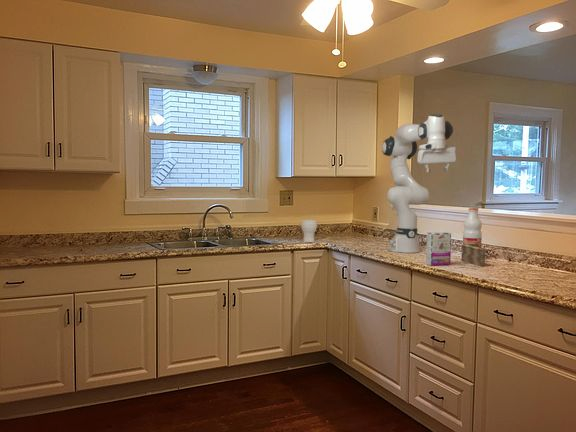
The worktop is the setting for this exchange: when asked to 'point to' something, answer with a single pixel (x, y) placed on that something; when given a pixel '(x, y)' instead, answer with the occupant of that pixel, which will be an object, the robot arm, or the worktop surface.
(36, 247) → the worktop surface
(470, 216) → the fruit juice
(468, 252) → the block
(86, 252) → the worktop surface
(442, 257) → the candy bar box
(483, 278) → the worktop surface
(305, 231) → the cup
